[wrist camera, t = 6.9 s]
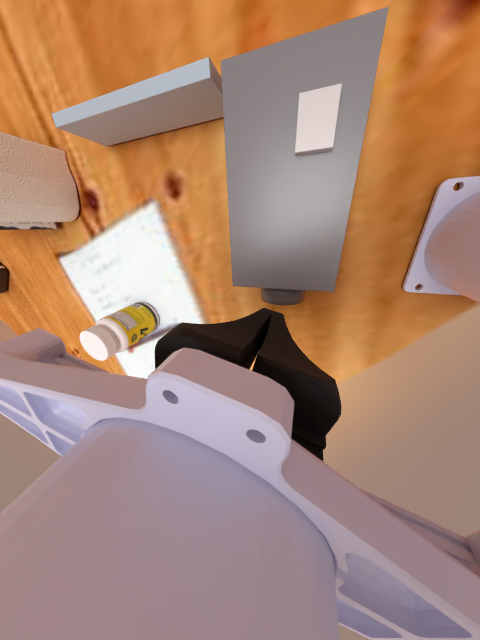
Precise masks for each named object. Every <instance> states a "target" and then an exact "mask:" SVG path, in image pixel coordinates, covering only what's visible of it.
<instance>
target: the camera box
mask: <svg viewBox="0 0 480 640" xmlns="http://www.w3.org/2000/svg"><path fill="white" fill-rule="evenodd" d="M388 8H389V7H386V8H383V9H380V10H377V11H374V12H371V13H367V14H364V15H361V16H358V17H355V18H352V19H349V20H346V21H343V22H340V23H336V24H333V25H330V26H327V27H324V28H321V29H318V30H315V31H312V32H308V33H305V34H302V35H299V36H296V37H293V38H290V39H287V40H284V41H280V42H277V43H274V44H271V45H268V46H265V47H262V48H259V49H256V50H253V51H249V52H246V53H243V54H240V55H237V56H234V57H231V58H228V59H225V60H221V74H222V93H223V111H224V130H225V149H226V167H227V186H228V205H229V223H230V242H231V261H232V279H233V286H242V287H259V288H261V299H262V300H263V301H265V302H267V303H270V304H275V305H294V304H298V303H301V302H302V301H304V297H305V290H308V291H325V292H334V290H335V284H336V279H337V274H338V269H339V264H340V258H341V253H342V248H343V243H344V237H345V232H346V227H347V222H348V217H349V211H350V206H351V201H352V196H353V190H354V185H355V180H356V175H357V169H358V164H359V159H360V154H361V149H362V143H363V138H364V133H365V128H366V122H367V117H368V112H369V107H370V102H371V96H372V91H373V86H374V81H375V75H376V70H377V65H378V60H379V55H380V49H381V44H382V39H383V34H384V28H385V23H386V18H387V13H388Z"/></svg>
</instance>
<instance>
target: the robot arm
mask: <svg viewBox="0 0 480 640" xmlns="http://www.w3.org/2000/svg"><path fill="white" fill-rule="evenodd" d="M456 183H459V184H460V187H459V189H458V190H457V191H454V190H453V187H454V185H455V184H456ZM418 284H421V286H420V287H419V288H418V289H415V286H416V285H418ZM403 289H404V290H405V291H406V292H413V293H431V294H450V295H464V296H466V297H468V298H470V299H472V300H474V301H477V302H479V303H480V176H473V177H462V178H451V179H448V180H445V181H443V182H442V183H441V184H440V185H439V186H438V188H437V190H436V193H435V196H434V199H433V201H432V204H431V207H430V210H429V213H428V216H427V218H426V221H425V224H424V227H423V230H422V233H421V235H420V238H419V241H418V244H417V247H416V250H415V252H414V255H413V258H412V261H411V264H410V267H409V269H408V272H407V275H406V278H405V281H404V284H403ZM259 350H260V351H259ZM258 352H259V353H258ZM257 354H258V355H257ZM256 356H257V358H256ZM255 358H256V361H255V364H254V367H253V370H252V371H251V370H249V369H250V367H251V365H252V363H253V361H254V360H255ZM0 414H2V415H4V416H5V417H7V418H8V419H10V420H11V421H13V422H14V423H16V424H17V425H19V426H21V427H22V428H23V429H25V430H26V431H28V432H29V433H30V434H32V435H33V436H35V437H36V438H37V439H39V440H40V441H41V442H43V443H44V444H46V445H47V446H48V447H50V448H51V449H52V450H54V451H55V452H56V453H58V454H59V455H61V457H60V458H59V459H58V460H57V461H56V462H55V463H54V464H53V465H52V466H51V467H49V469H47V470H46V471H45V472H44V473H43V474H42V475H41V476H40V477H39V478H38V479H37V480H36V481H35V482H33V484H31V485H30V486H29V487H28V488H27V489H26V490H25V491H24V492H23V493H22V494H21V495H20V496H19V497H18V498H16V499H15V500H14V501H13V502H12V503H11V504H10V505H9V506H8V507H7V508H6V509H5V510H4V511H3V512H1V513H0V640H339V629H338V624H340V625H342V626H344V627H346V628H348V629H350V630H352V631H354V632H356V633H358V634H360V635H362V636H364V637H366V638H368V639H370V640H480V531H476V532H473V533H471V534H469V535H468V536H467V537H466V538H465V537H463V536H461V535H459V534H457V533H454V532H452V531H450V530H448V529H446V528H444V527H442V526H439V525H437V524H435V523H433V522H431V521H429V520H427V519H424V518H422V517H420V516H418V515H416V514H413V513H411V512H409V511H407V510H405V509H403V508H401V507H399V506H396V505H394V504H392V503H390V502H388V501H385V500H383V499H381V498H379V497H377V496H375V495H373V494H371V493H368V492H366V491H364V490H362V489H360V488H358V487H357V486H355V485H354V484H352V483H351V482H350V481H349V480H347V479H346V478H344V477H343V476H342V475H340V474H339V473H338V472H336V471H335V470H333V469H332V468H331V467H329V466H328V465H327V464H325V463H324V462H323V450H324V449H325V447H326V437H325V436H326V435H327V433H328V432H329V431H330V430H331V428H332V427H333V426H334V424H335V423H336V422H337V421H338V419H339V417H340V415H341V401H340V397H339V392H338V388H337V385H336V381H335V379H333V378H332V377H331V376H329V375H328V374H326V373H325V372H324V371H322V370H321V369H320V368H318V367H317V366H316V365H315V364H314V363H313V362H312V361H310V360H309V359H308V358H307V357H306V355H305V354H304V353H303V352H302V351H301V350H300V349H299V347H298V346H297V345H296V343H295V342H294V340H293V339H292V337H291V335H290V333H289V331H288V328H287V326H286V323H285V319H284V315H283V314H281V313H278V312H275V311H272V310H269V309H266V308H263V309H261V310H259V311H257V312H255V313H253V314H251V315H249V316H246V317H244V318H241V319H238V320H235V321H230V322H225V323H217V324H192V323H180V324H179V325H178V326H176V327H175V328H173V329H172V330H171V331H170V332H168V333H167V334H166V335H165V336H163V337H162V338H161V339H160V340H158V342H157V344H156V346H155V370H154V371H153V372H152V373H151V374H150V375H149V376H148V379H144V378H137V377H131V376H125V375H118V374H112V373H110V372H108V371H106V370H103V369H101V368H99V367H97V366H95V365H93V364H91V363H88V362H86V361H84V360H82V359H80V358H78V357H75V356H73V355H71V354H69V353H67V352H66V348H65V344H64V342H63V341H62V340H61V338H59V337H58V336H56V335H54V334H52V333H50V332H47V331H45V330H43V329H40V328H38V329H35V330H33V331H30V332H28V333H25V334H22V335H20V336H17V337H15V338H12V339H10V340H7V341H4V342H2V343H0Z"/></svg>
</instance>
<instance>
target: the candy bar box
mask: <svg viewBox="0 0 480 640" xmlns="http://www.w3.org/2000/svg"><path fill="white" fill-rule="evenodd" d="M17 229H58V228H57V224H56V222H0V230H17Z"/></svg>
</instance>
